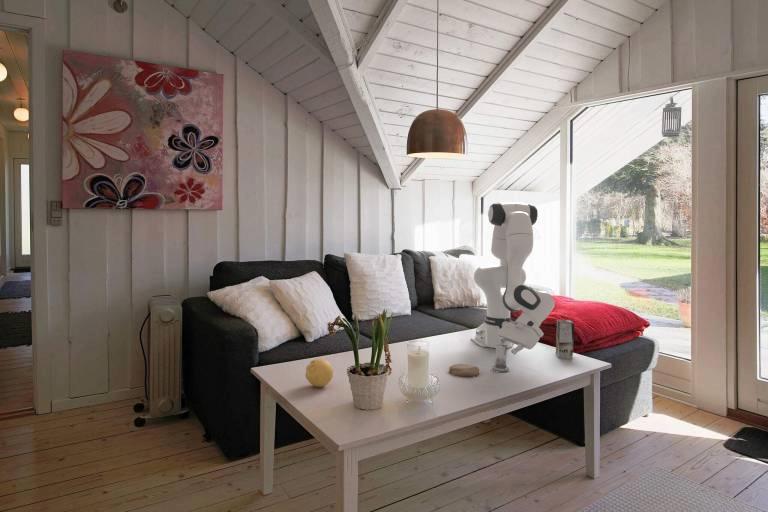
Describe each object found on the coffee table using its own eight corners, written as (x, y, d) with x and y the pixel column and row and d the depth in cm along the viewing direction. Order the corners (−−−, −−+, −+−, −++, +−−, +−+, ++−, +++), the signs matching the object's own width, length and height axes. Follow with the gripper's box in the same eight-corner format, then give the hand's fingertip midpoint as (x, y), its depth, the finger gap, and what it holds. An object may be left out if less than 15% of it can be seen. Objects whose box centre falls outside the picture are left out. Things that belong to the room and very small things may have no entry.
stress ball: (334, 386, 187) (321, 364, 192) (341, 371, 181) (327, 349, 186) (310, 395, 182) (298, 373, 186) (317, 381, 175) (303, 358, 180)
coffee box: (573, 359, 226) (575, 323, 224) (557, 358, 227) (559, 322, 225) (569, 353, 234) (571, 319, 233) (555, 352, 236) (556, 318, 234)
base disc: (443, 369, 207) (443, 365, 207) (469, 366, 212) (469, 363, 212) (459, 378, 196) (459, 374, 196) (485, 375, 201) (485, 371, 200)
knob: (489, 368, 210) (490, 344, 209) (502, 366, 212) (503, 343, 211) (498, 373, 204) (499, 348, 203) (511, 371, 206) (512, 347, 205)
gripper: (506, 315, 219) (486, 339, 216) (538, 325, 201) (516, 351, 198) (515, 325, 221) (495, 348, 218) (546, 335, 203) (525, 361, 200)
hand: (505, 350), depth 208 cm, fingers open, 8 cm apart
